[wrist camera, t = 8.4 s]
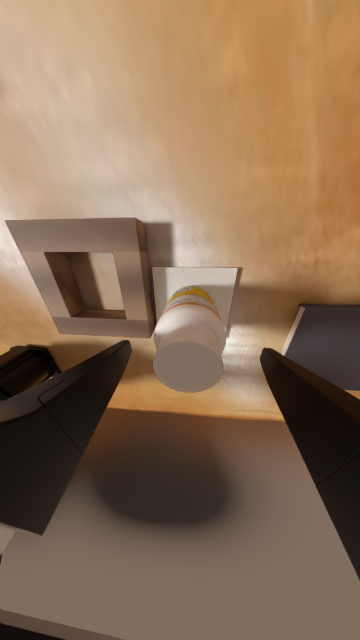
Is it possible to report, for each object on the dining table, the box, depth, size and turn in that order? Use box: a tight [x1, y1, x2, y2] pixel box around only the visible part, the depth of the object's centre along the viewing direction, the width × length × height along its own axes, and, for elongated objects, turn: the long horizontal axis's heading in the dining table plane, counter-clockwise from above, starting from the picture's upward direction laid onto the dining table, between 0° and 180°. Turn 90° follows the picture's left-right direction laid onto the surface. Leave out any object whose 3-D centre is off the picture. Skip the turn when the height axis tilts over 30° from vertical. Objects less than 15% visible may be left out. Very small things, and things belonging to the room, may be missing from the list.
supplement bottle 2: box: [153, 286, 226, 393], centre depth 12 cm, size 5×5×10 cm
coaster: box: [152, 267, 238, 332], centre depth 16 cm, size 9×9×1 cm
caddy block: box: [5, 218, 155, 338], centre depth 15 cm, size 12×12×2 cm
